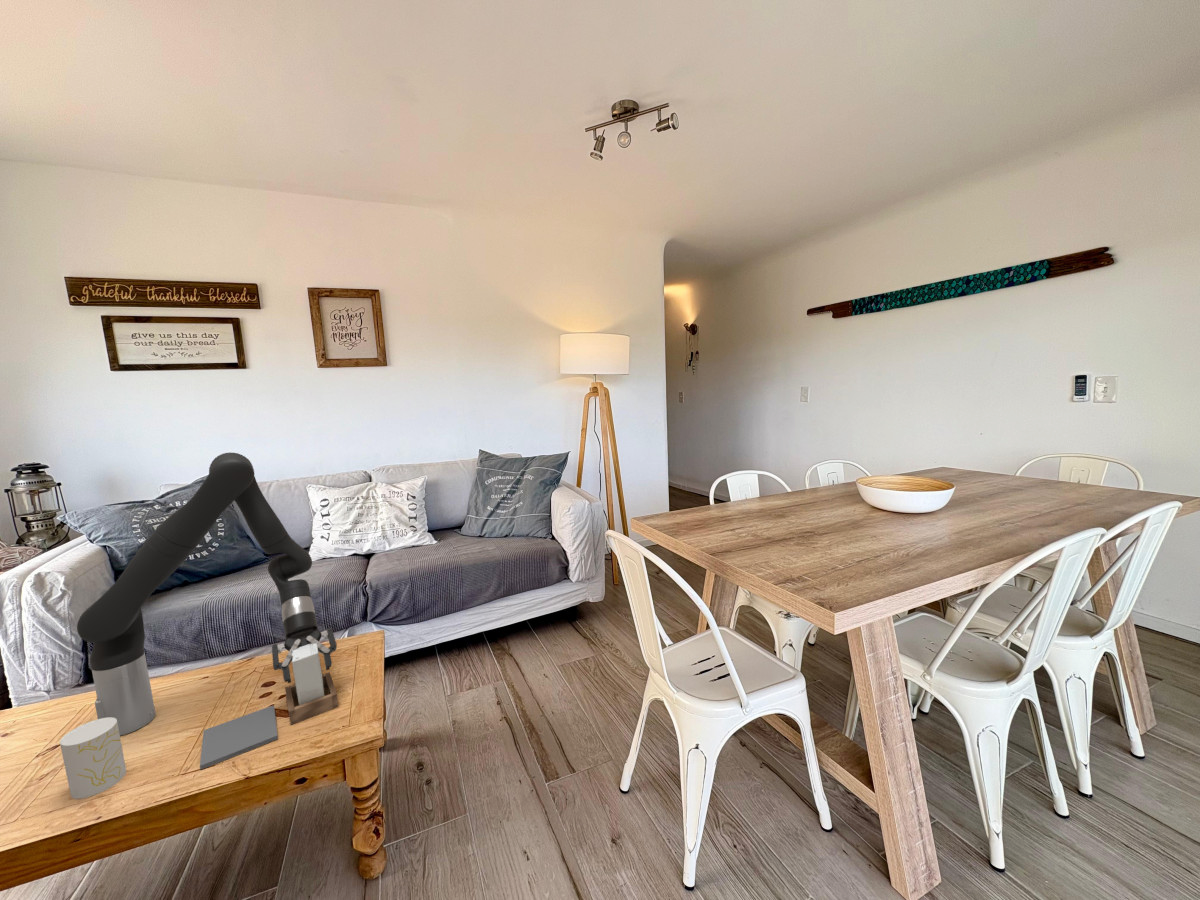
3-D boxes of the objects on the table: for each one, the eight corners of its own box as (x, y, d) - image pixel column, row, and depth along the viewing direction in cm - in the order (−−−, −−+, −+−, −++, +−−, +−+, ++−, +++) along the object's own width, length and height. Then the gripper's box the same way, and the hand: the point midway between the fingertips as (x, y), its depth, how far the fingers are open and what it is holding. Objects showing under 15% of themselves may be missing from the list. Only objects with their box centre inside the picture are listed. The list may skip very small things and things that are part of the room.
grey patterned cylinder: (86, 802, 95) (76, 748, 93) (60, 794, 97) (49, 741, 95) (135, 770, 103) (126, 720, 101) (110, 764, 105) (101, 714, 103)
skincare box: (326, 707, 121) (319, 653, 119) (298, 716, 118) (291, 661, 116) (324, 690, 128) (318, 639, 126) (298, 699, 125) (291, 646, 123)
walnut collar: (290, 725, 115) (288, 711, 115) (286, 699, 125) (285, 687, 124) (338, 706, 121) (336, 694, 121) (331, 683, 131) (329, 672, 131)
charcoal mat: (200, 770, 102) (199, 765, 102) (204, 733, 113) (203, 730, 113) (277, 739, 110) (277, 735, 110) (274, 708, 121) (273, 704, 121)
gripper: (266, 620, 122) (275, 682, 114) (329, 603, 131) (340, 659, 123) (268, 631, 127) (276, 691, 119) (328, 614, 135) (339, 669, 128)
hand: (309, 675), depth 121 cm, fingers open, 8 cm apart
